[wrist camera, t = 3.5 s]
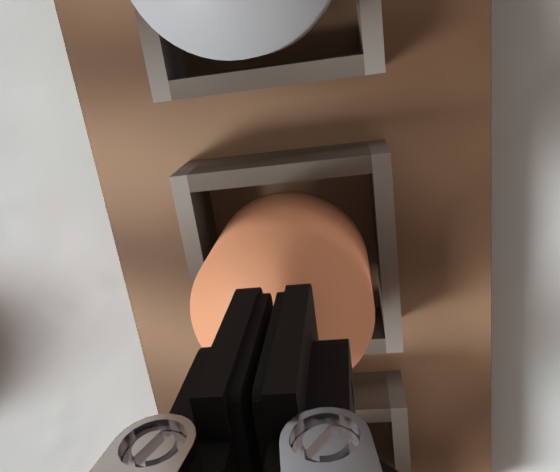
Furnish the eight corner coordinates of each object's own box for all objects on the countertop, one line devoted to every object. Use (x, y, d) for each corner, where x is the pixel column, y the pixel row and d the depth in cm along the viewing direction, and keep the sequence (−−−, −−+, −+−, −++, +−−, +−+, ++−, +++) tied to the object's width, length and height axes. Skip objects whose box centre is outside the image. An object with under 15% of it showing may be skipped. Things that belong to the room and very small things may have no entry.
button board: (50, -141, 16) (-38, -196, 12) (470, -227, 14) (518, -321, 10) (198, 488, 24) (173, 572, 20) (478, 481, 22) (506, 572, 18)
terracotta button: (203, 199, 15) (173, 237, 12) (362, 183, 14) (367, 218, 12) (229, 336, 16) (207, 397, 14) (373, 326, 16) (381, 388, 13)
